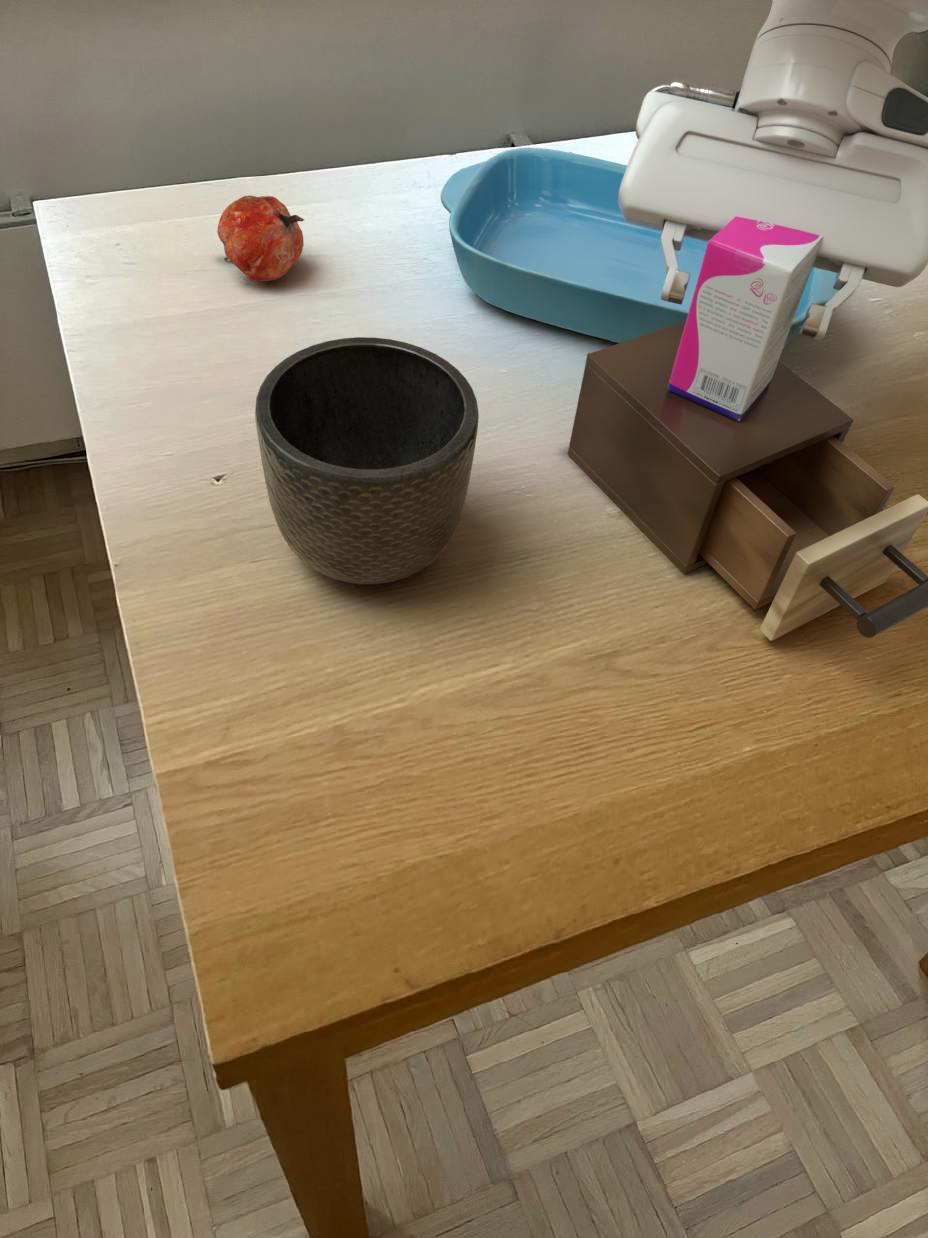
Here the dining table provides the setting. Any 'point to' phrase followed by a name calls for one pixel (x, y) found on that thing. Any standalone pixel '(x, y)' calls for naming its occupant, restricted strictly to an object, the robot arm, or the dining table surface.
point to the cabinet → (682, 438)
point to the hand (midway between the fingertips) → (740, 317)
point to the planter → (366, 455)
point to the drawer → (815, 539)
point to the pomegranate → (260, 237)
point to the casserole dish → (572, 247)
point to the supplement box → (741, 313)
